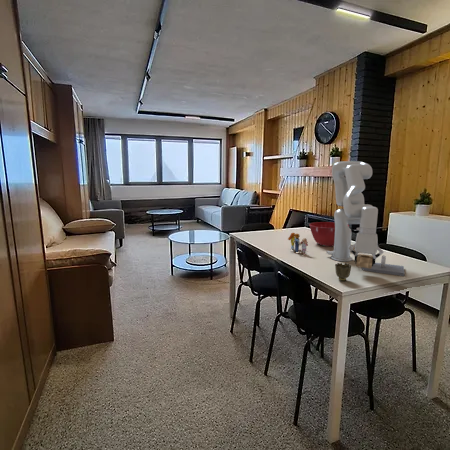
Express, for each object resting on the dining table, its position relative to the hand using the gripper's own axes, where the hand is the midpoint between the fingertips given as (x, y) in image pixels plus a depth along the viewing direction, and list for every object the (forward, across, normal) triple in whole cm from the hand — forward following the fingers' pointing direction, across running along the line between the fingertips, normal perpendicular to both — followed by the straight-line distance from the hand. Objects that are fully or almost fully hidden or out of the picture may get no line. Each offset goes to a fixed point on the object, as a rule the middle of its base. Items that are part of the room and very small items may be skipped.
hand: (364, 263), depth 150 cm
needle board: (+6, +8, +15) cm, 18 cm away
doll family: (+8, -44, +30) cm, 54 cm away
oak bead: (+1, 0, 0) cm, 1 cm away
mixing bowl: (+9, -29, +63) cm, 70 cm away
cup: (+6, -8, -14) cm, 17 cm away
